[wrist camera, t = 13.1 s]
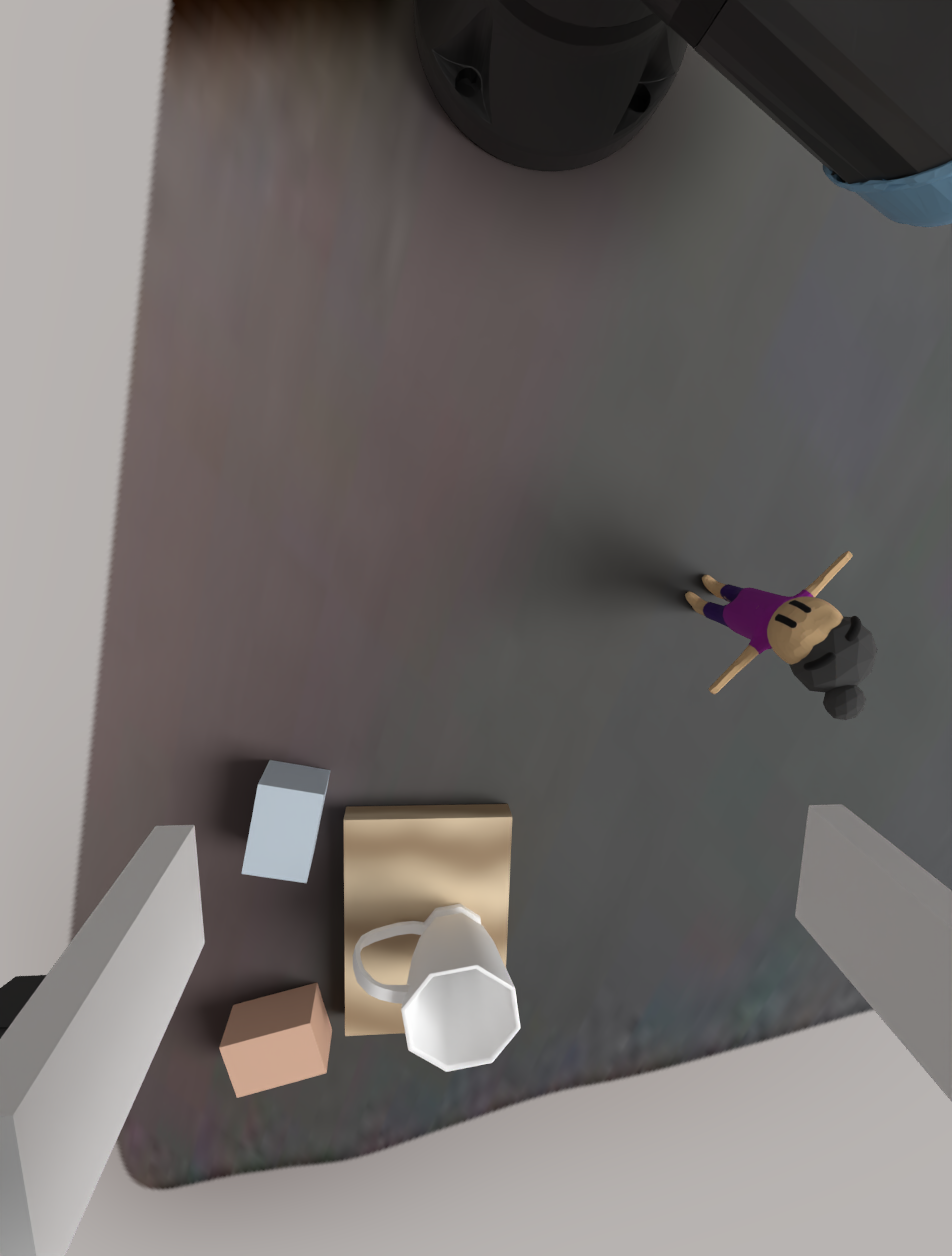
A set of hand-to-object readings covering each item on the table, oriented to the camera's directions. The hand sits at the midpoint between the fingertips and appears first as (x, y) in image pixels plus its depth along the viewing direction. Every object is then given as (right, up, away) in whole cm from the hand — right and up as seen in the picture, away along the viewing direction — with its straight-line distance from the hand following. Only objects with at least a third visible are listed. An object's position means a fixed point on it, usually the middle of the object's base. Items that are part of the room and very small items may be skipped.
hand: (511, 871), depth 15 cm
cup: (-4, -15, +33) cm, 36 cm away
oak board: (-4, -15, +34) cm, 38 cm away
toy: (+15, +7, +32) cm, 36 cm away
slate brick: (-13, -7, +32) cm, 35 cm away
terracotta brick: (-14, -22, +35) cm, 44 cm away
